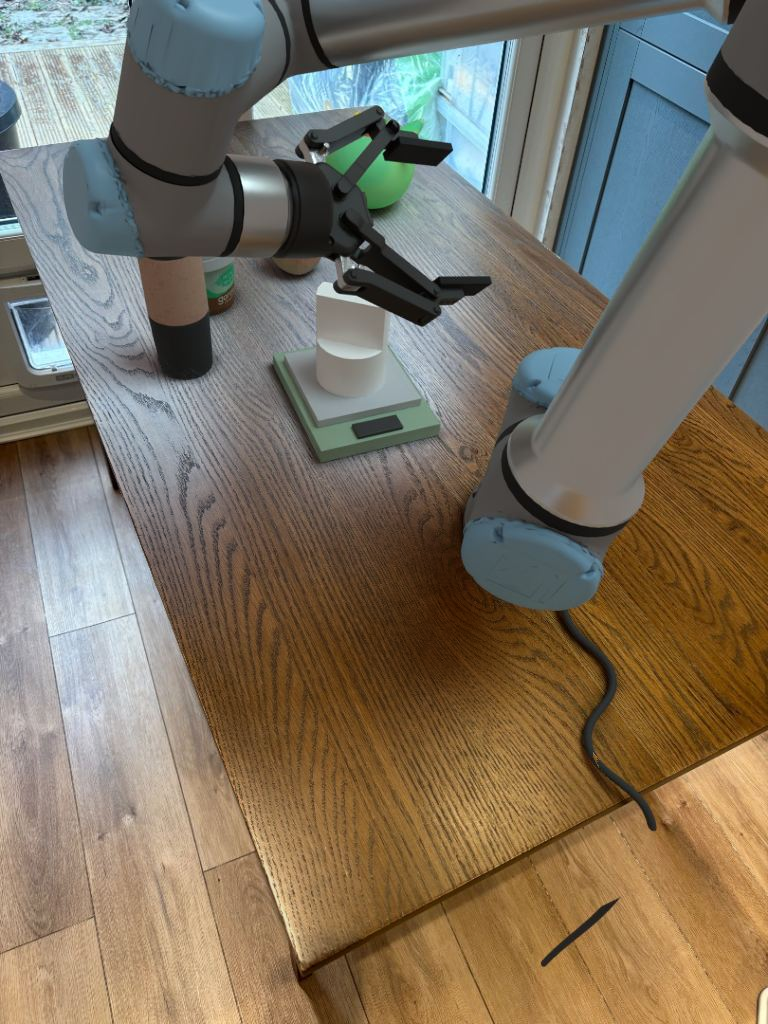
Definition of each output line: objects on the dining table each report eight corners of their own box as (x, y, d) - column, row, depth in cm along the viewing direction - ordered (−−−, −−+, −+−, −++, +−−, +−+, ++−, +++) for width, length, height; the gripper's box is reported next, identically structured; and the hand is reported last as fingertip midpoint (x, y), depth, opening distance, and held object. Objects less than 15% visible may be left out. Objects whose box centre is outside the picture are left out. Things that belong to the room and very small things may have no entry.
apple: (328, 257, 123) (329, 210, 117) (319, 286, 117) (320, 238, 111) (275, 251, 123) (273, 203, 117) (264, 279, 117) (262, 231, 111)
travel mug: (153, 351, 104) (126, 212, 89) (208, 342, 106) (191, 205, 91) (163, 385, 99) (135, 245, 84) (220, 375, 101) (204, 237, 86)
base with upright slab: (307, 389, 95) (306, 307, 86) (327, 348, 101) (328, 268, 92) (375, 403, 94) (381, 323, 86) (392, 362, 100) (399, 282, 91)
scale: (438, 435, 96) (442, 416, 94) (321, 463, 91) (321, 444, 89) (380, 345, 108) (381, 326, 106) (273, 365, 103) (272, 346, 101)
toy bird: (329, 175, 143) (330, 92, 132) (417, 182, 143) (426, 100, 132) (320, 221, 131) (320, 133, 120) (416, 229, 131) (426, 143, 120)
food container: (226, 329, 108) (219, 266, 101) (185, 321, 109) (176, 258, 101) (253, 284, 116) (249, 223, 109) (215, 277, 117) (208, 216, 109)
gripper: (214, 96, 64) (406, 124, 77) (289, 372, 63) (473, 356, 75) (249, 33, 58) (451, 75, 71) (334, 337, 57) (525, 326, 69)
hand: (463, 220), depth 73 cm, fingers open, 13 cm apart
